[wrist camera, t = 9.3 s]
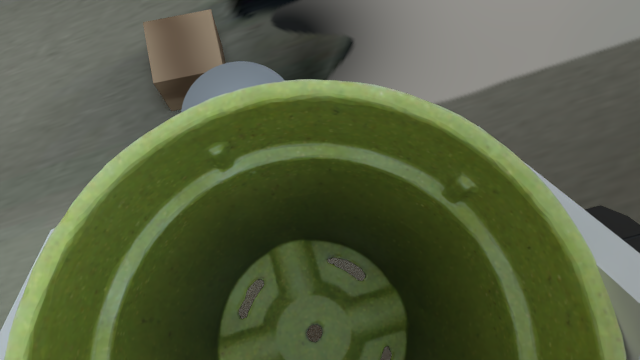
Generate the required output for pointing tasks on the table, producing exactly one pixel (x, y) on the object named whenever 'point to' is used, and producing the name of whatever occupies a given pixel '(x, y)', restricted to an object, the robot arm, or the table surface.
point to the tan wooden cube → (182, 53)
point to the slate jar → (228, 81)
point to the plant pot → (316, 241)
